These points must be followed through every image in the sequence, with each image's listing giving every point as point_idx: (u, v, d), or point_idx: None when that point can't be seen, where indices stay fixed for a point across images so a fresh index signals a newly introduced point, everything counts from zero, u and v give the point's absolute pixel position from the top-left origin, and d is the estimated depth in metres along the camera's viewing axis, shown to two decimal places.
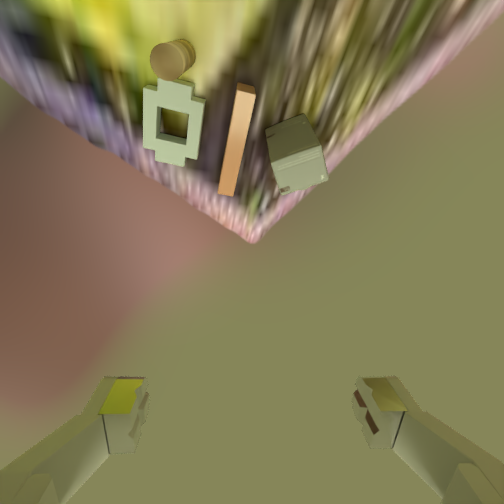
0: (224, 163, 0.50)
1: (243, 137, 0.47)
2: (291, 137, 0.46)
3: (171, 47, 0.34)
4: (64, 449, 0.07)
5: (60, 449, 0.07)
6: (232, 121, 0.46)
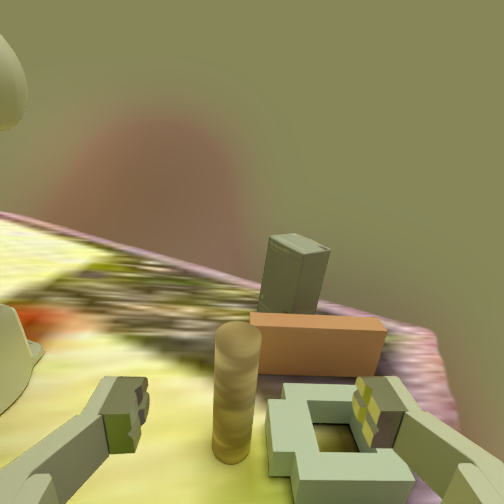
0: (341, 328, 0.36)
1: (298, 316, 0.38)
2: (276, 281, 0.45)
3: (218, 330, 0.24)
4: (64, 449, 0.07)
5: (60, 450, 0.07)
6: (286, 326, 0.36)
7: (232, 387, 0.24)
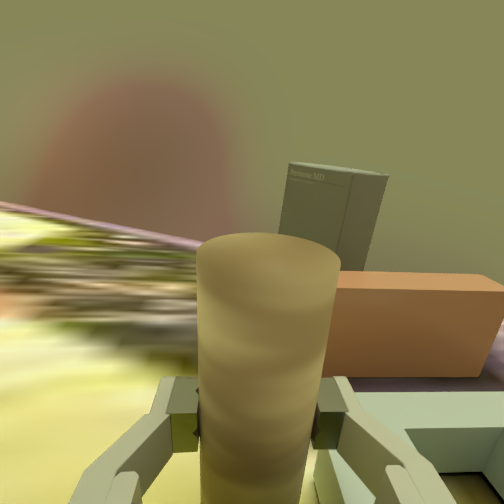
0: (433, 288, 0.20)
1: (351, 273, 0.22)
2: (302, 231, 0.29)
3: (207, 245, 0.08)
4: (141, 447, 0.08)
5: (139, 448, 0.08)
6: None
7: (254, 417, 0.07)
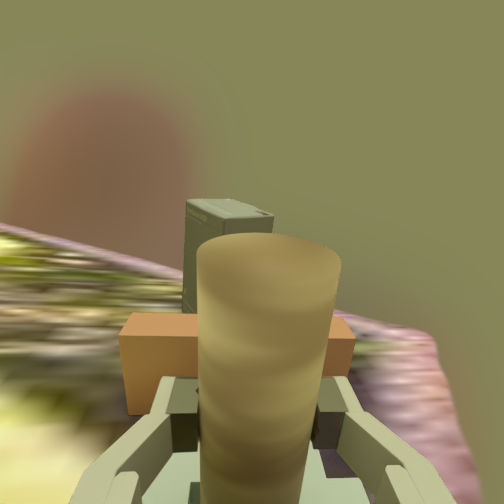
0: None
1: None
2: None
3: (207, 244, 0.08)
4: (141, 447, 0.08)
5: (139, 448, 0.07)
6: (182, 334, 0.21)
7: (254, 417, 0.07)
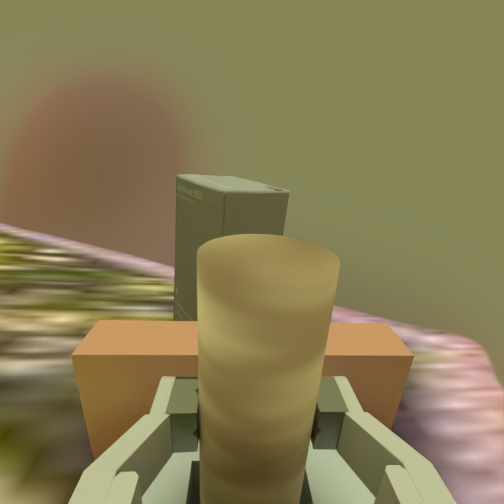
0: None
1: None
2: (191, 259, 0.23)
3: (207, 245, 0.08)
4: (141, 448, 0.08)
5: (139, 448, 0.07)
6: (165, 352, 0.14)
7: (253, 417, 0.07)
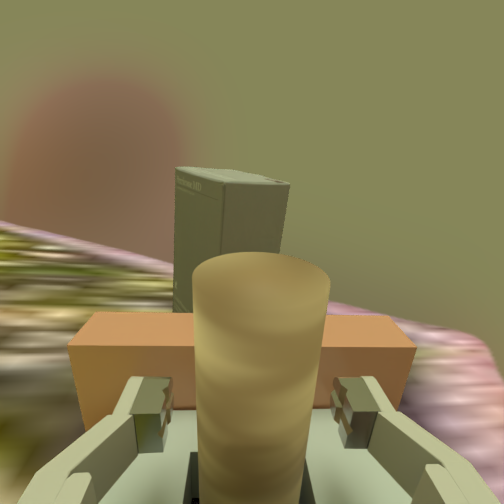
0: None
1: None
2: (190, 252, 0.23)
3: (202, 266, 0.09)
4: (99, 448, 0.08)
5: (96, 449, 0.07)
6: (163, 343, 0.14)
7: (249, 434, 0.08)
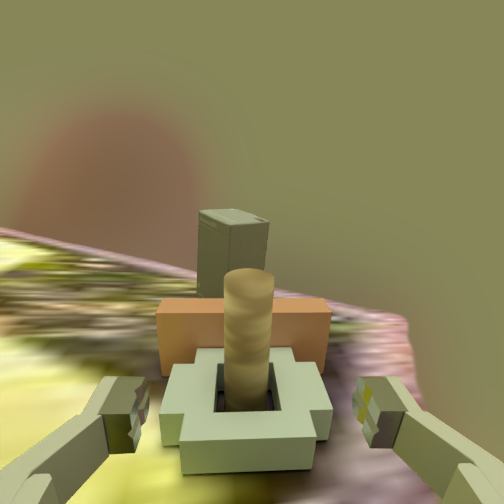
0: (273, 311, 0.29)
1: (223, 300, 0.30)
2: (209, 264, 0.37)
3: (226, 275, 0.22)
4: (64, 449, 0.07)
5: (60, 450, 0.07)
6: (202, 312, 0.28)
7: (245, 335, 0.21)
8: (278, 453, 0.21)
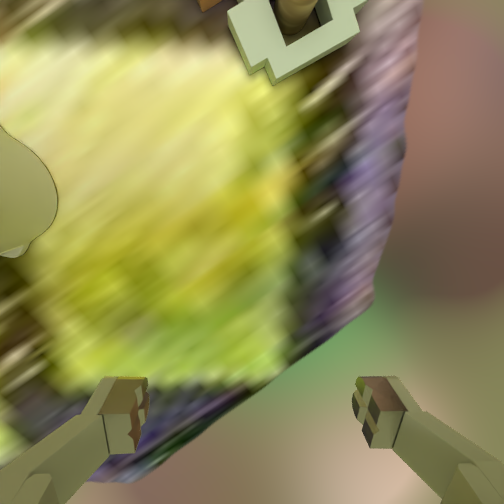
0: None
1: None
2: None
3: None
4: (64, 449, 0.07)
5: (60, 450, 0.07)
6: None
7: None
8: (331, 49, 0.32)
